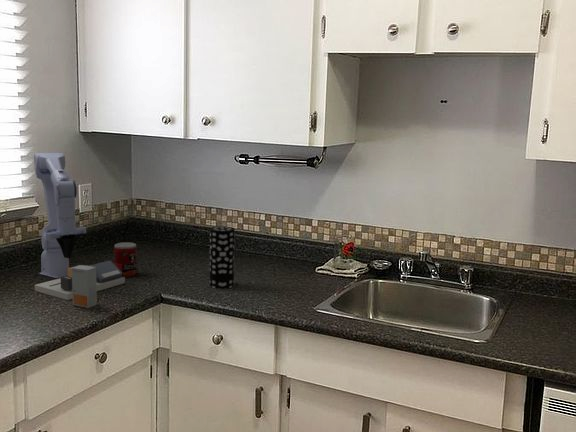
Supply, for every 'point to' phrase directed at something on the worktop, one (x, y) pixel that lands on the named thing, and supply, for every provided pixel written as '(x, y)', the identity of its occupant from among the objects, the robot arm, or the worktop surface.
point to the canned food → (126, 258)
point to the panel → (55, 289)
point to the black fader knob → (66, 283)
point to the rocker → (106, 271)
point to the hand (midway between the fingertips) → (67, 257)
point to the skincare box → (84, 286)
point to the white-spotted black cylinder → (222, 257)
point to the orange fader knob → (70, 272)
